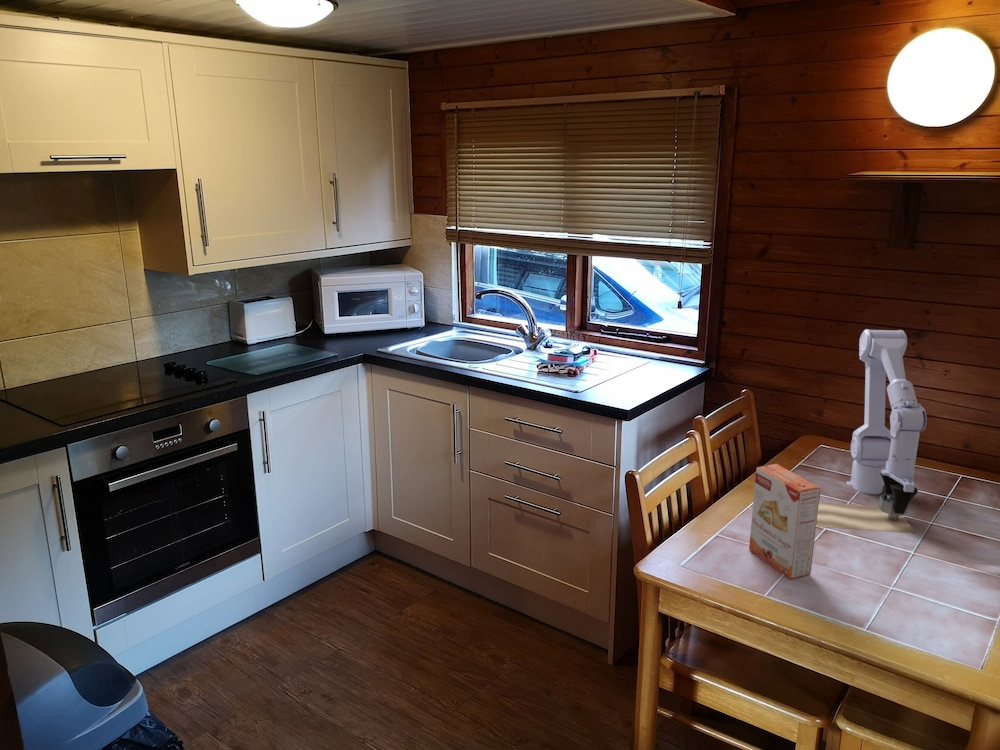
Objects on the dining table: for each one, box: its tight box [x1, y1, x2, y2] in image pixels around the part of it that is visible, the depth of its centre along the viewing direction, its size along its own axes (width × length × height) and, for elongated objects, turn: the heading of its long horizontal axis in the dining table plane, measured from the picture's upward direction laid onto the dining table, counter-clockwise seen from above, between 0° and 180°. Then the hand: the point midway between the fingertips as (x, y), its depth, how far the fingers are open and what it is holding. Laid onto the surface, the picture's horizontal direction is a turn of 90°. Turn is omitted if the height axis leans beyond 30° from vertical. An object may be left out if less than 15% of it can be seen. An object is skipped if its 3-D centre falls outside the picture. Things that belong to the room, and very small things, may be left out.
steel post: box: [888, 500, 899, 521], centre depth 189 cm, size 3×2×4 cm
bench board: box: [816, 501, 916, 534], centre depth 192 cm, size 14×22×1 cm, turn 81°
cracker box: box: [748, 463, 821, 580], centre depth 170 cm, size 14×6×21 cm, turn 21°
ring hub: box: [878, 492, 910, 517], centre depth 189 cm, size 6×6×3 cm
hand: (894, 507), depth 189 cm, fingers closed on ring hub, 6 cm apart
